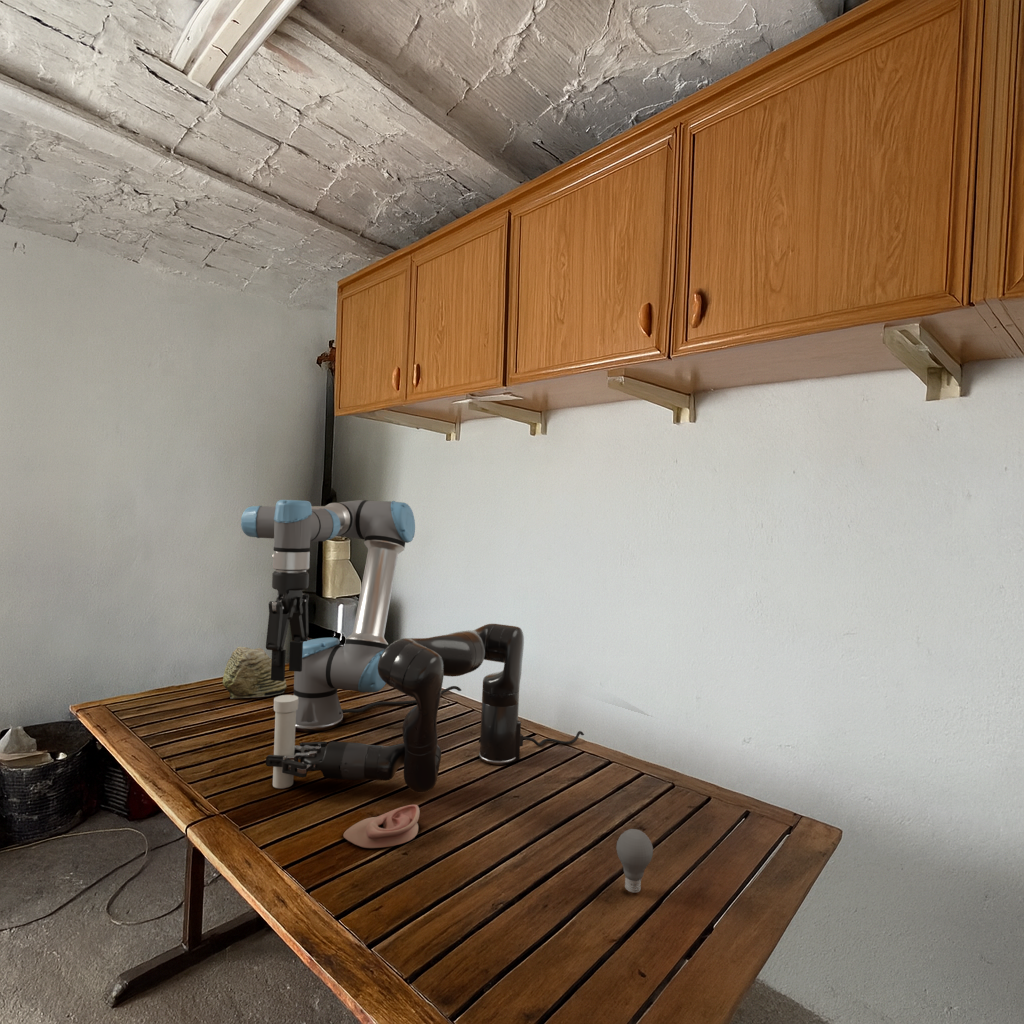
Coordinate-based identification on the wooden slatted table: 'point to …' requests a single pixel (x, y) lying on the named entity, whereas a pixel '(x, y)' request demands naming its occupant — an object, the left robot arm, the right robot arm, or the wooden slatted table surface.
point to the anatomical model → (385, 828)
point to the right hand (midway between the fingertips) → (271, 755)
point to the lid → (285, 703)
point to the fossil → (250, 674)
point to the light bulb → (634, 857)
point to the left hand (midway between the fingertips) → (286, 675)
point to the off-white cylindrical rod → (284, 746)
